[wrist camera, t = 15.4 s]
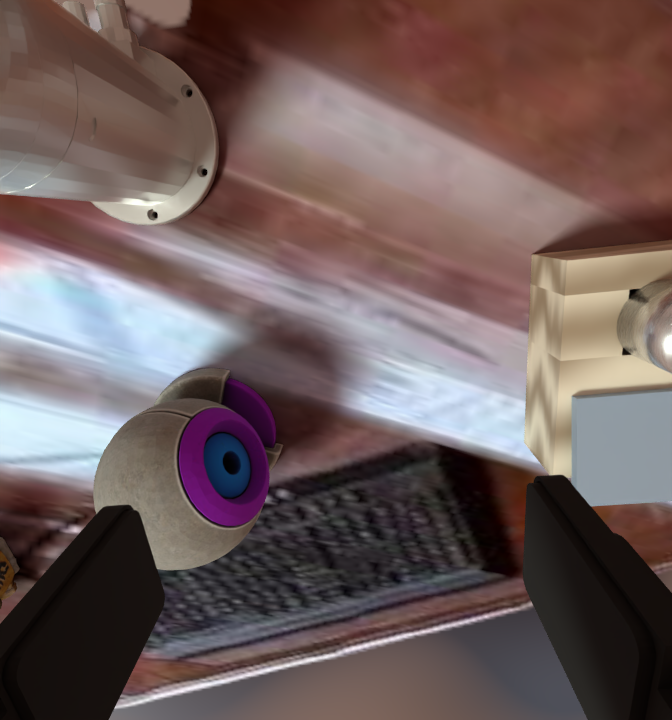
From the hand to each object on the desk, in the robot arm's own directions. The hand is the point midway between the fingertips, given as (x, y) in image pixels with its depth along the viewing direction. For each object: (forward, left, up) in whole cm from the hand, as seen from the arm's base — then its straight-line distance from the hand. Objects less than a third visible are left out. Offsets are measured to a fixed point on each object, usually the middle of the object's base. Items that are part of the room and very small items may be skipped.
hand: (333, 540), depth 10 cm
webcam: (+11, -14, -29) cm, 34 cm away
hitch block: (+6, +23, -28) cm, 37 cm away
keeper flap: (+12, +23, -22) cm, 34 cm away
